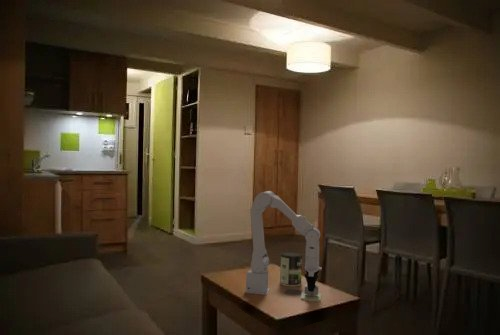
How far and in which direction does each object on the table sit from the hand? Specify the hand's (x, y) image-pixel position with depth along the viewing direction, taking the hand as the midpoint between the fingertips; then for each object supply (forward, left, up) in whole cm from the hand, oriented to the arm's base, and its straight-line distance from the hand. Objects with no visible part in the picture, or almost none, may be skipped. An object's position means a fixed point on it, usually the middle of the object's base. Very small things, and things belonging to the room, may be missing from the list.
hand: (311, 288), depth 161 cm
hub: (0, 0, -4) cm, 4 cm away
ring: (0, 0, -2) cm, 2 cm away
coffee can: (-10, +18, -4) cm, 21 cm away
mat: (-8, +5, -4) cm, 10 cm away
